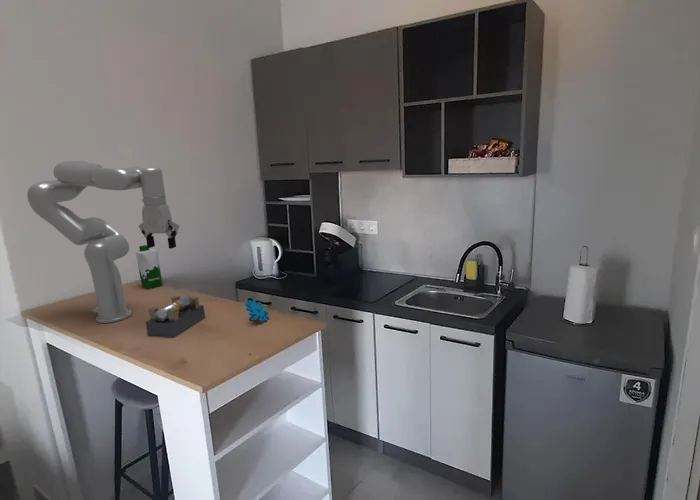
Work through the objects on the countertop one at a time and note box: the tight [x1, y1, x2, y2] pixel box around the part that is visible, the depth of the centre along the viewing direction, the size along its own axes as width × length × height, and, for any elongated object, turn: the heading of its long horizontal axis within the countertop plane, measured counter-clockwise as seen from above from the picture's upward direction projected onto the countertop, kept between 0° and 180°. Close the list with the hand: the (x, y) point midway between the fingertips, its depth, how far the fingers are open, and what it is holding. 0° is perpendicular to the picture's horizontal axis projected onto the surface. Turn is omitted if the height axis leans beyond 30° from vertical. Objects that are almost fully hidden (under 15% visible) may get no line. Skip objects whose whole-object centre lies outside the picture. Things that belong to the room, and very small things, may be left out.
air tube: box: [155, 295, 192, 322], centre depth 159 cm, size 16×4×4 cm, turn 163°
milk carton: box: [134, 244, 164, 290], centre depth 211 cm, size 9×9×20 cm
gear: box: [244, 299, 270, 323], centre depth 161 cm, size 11×6×10 cm
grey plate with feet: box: [145, 295, 206, 338], centre depth 159 cm, size 11×18×9 cm, turn 163°
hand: (161, 247), depth 163 cm, fingers open, 9 cm apart
